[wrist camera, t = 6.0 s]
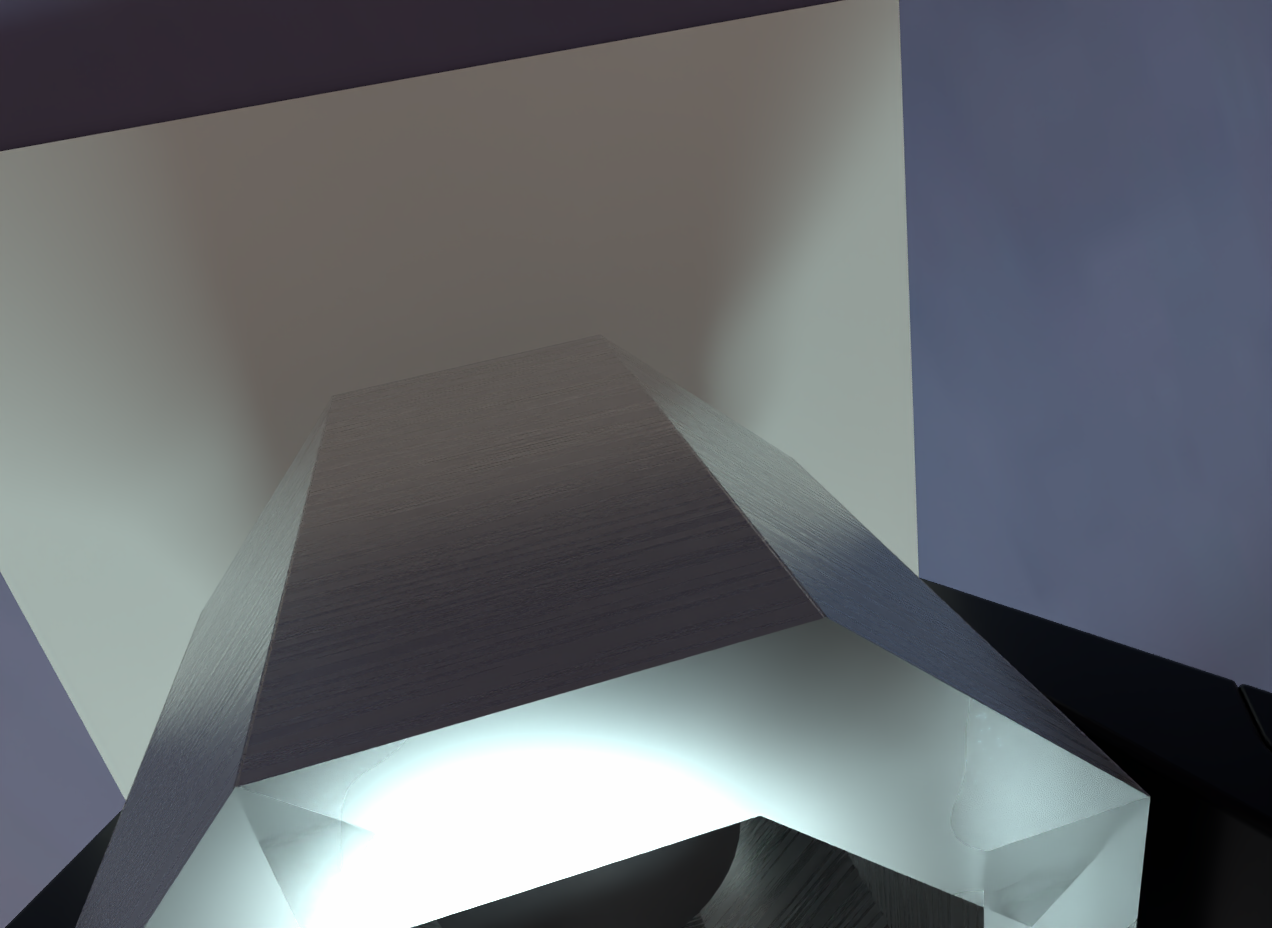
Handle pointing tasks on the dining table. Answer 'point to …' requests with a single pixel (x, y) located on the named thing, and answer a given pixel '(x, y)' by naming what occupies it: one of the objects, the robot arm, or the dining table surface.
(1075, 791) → the grey hollow octagonal cylinder
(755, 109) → the post fixture
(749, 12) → the dining table surface
